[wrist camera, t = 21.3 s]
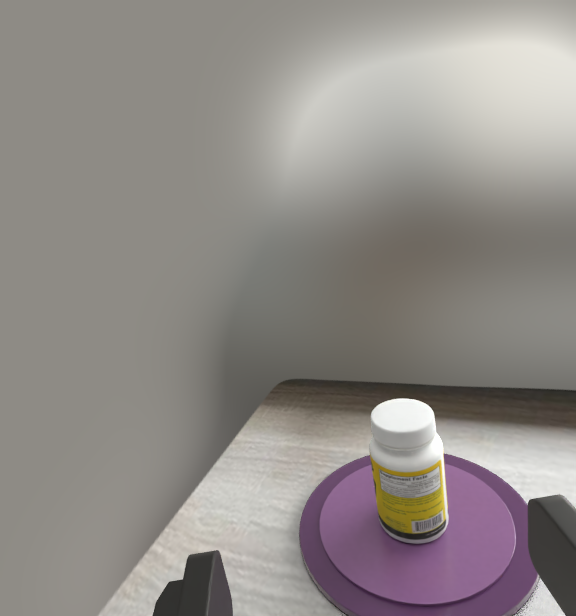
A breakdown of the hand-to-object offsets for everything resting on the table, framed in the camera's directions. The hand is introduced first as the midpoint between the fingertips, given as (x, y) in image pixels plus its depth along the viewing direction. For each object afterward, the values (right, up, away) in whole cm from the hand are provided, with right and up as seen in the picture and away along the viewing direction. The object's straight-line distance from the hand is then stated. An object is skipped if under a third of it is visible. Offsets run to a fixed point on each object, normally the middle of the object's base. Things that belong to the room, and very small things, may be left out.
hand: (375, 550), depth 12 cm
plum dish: (+6, -9, +20) cm, 23 cm away
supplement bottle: (+6, -9, +20) cm, 23 cm away
